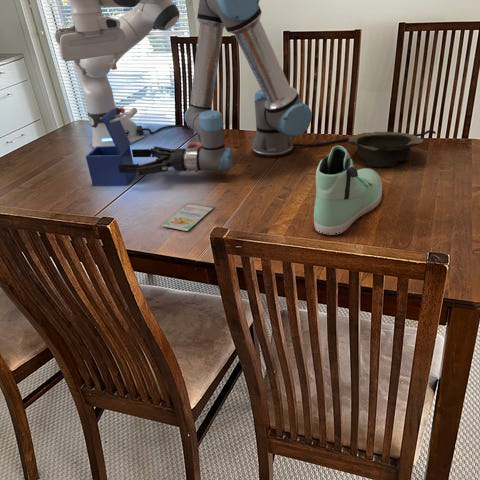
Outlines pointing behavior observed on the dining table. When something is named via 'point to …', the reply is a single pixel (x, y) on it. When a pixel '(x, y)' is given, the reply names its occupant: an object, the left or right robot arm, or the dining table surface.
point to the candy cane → (197, 144)
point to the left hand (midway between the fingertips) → (99, 71)
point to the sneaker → (343, 192)
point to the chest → (108, 166)
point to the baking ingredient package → (187, 217)
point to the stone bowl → (384, 147)
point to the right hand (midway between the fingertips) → (126, 160)
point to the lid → (118, 128)
